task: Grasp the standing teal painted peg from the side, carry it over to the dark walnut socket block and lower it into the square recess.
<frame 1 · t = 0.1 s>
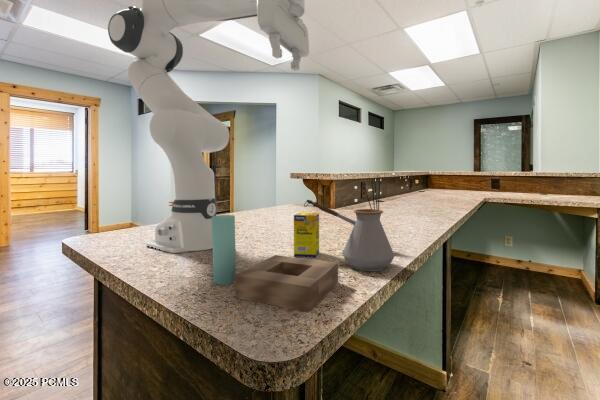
hand: (286, 63, 75), 48 cm above the countertop, tool pointing down, fingers open, 8 cm apart
peg: (225, 280, 61), on the countertop
reed diffuser: (373, 250, 86), on the countertop
socket block: (289, 289, 56), on the countertop
coffee pot: (346, 264, 72), on the countertop
supplement box: (307, 255, 81), on the countertop
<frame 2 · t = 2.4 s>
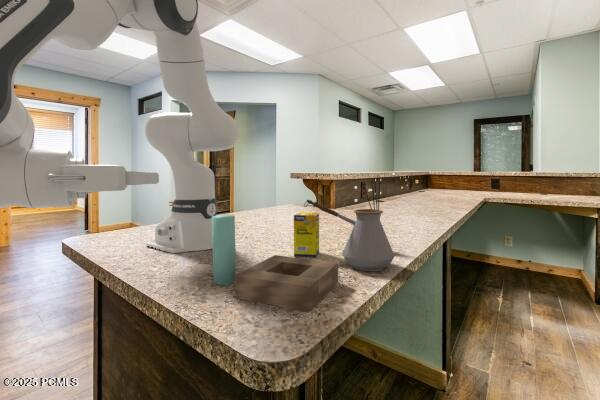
hand: (156, 178, 54), 21 cm above the countertop, tool horizontal, fingers open, 8 cm apart
nothing on the countertop moved.
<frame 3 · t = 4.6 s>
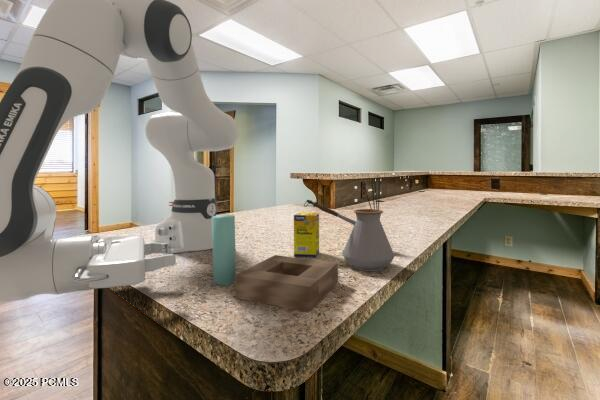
hand: (172, 252, 57), 7 cm above the countertop, tool horizontal, fingers open, 8 cm apart
nothing on the countertop moved.
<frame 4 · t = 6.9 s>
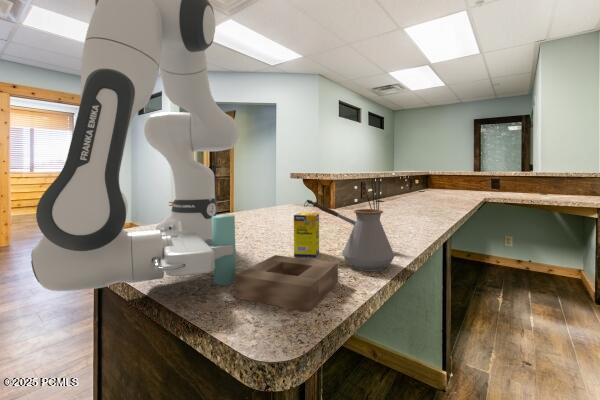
hand: (228, 245, 61), 7 cm above the countertop, tool horizontal, fingers closed on peg, 4 cm apart
peg: (225, 280, 61), on the countertop, touching gripper
everything else where it was.
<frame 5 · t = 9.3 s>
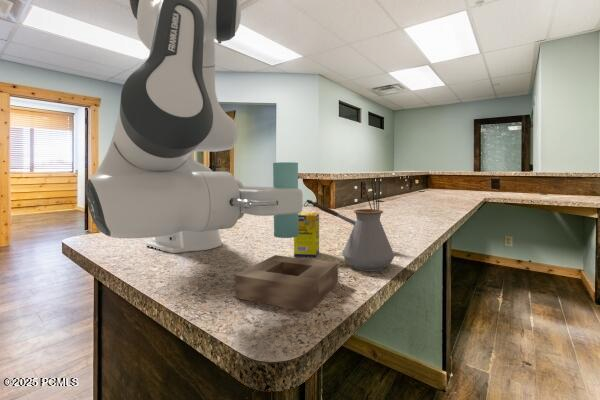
hand: (290, 196, 55), 17 cm above the countertop, tool horizontal, fingers closed on peg, 4 cm apart
peg: (286, 235, 55), point 10 cm above the countertop, touching gripper
everything else where it was.
when the fingers open (9 cm above the countertop, at t = 11.5 s): peg stays where it is, resting on socket block.
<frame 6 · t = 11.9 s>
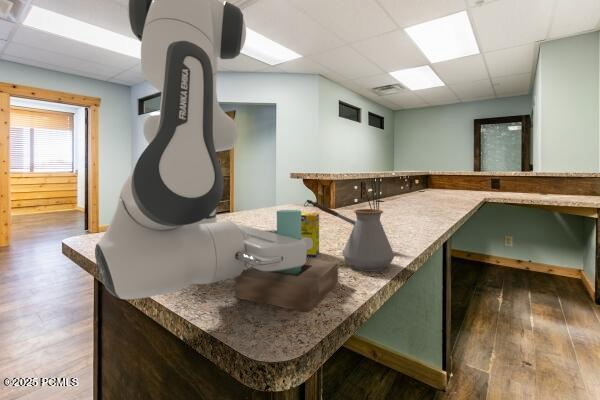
hand: (293, 238, 56), 9 cm above the countertop, tool horizontal, fingers open, 8 cm apart
peg: (289, 281, 56), point 2 cm above the countertop, touching socket block
everything else where it was.
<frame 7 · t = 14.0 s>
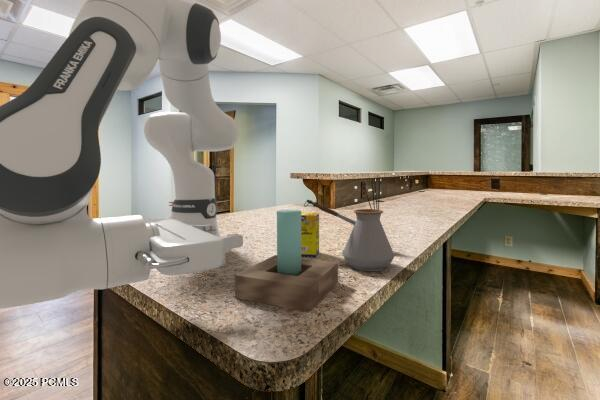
hand: (226, 234, 49), 12 cm above the countertop, tool horizontal, fingers open, 8 cm apart
nothing on the countertop moved.
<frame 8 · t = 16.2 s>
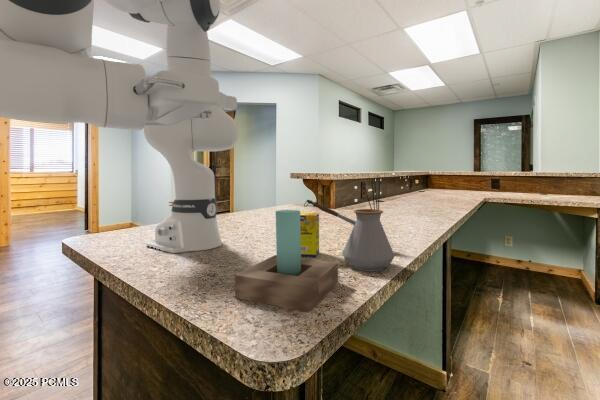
hand: (221, 109, 51), 32 cm above the countertop, tool horizontal, fingers open, 8 cm apart
nothing on the countertop moved.
at the end: peg 0.1 cm off-centre on the socket block, point 1.5 cm above the socket block's base; peg tilted 1°; the gripper is holding nothing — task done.
